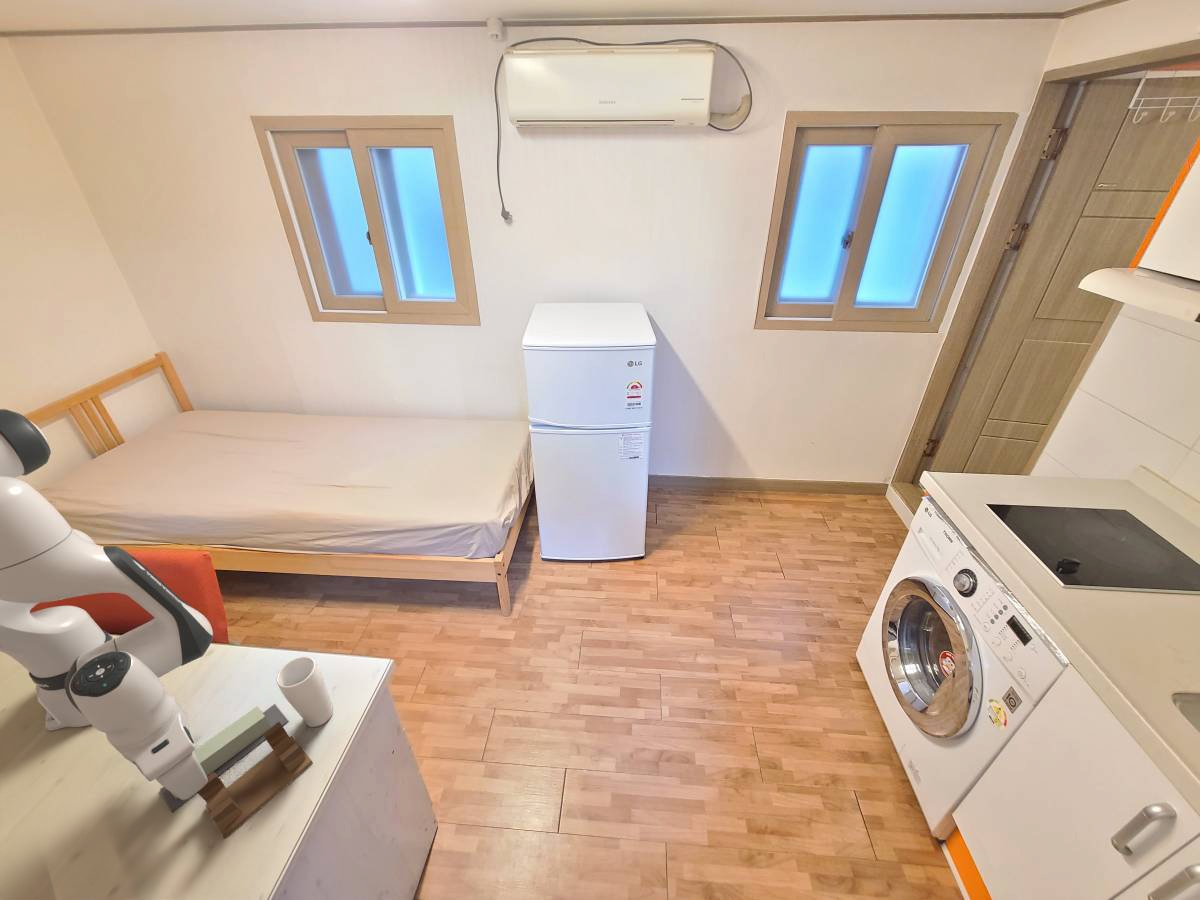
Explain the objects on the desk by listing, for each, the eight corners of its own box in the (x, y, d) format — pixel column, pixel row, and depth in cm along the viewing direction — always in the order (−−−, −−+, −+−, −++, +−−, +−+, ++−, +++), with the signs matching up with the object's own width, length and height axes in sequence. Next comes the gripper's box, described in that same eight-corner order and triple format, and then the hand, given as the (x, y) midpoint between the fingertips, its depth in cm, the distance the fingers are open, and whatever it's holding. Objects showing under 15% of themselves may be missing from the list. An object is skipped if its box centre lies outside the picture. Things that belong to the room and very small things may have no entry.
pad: (160, 790, 89) (160, 789, 89) (275, 704, 102) (274, 703, 102) (172, 812, 86) (171, 811, 86) (288, 721, 99) (288, 720, 99)
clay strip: (176, 799, 87) (166, 787, 85) (169, 786, 88) (159, 774, 86) (271, 728, 98) (265, 716, 96) (263, 717, 100) (257, 706, 98)
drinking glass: (332, 693, 104) (310, 649, 97) (342, 716, 100) (319, 672, 92) (298, 714, 101) (272, 670, 93) (306, 739, 96) (280, 695, 88)
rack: (207, 807, 86) (190, 789, 83) (293, 737, 97) (281, 719, 93) (225, 838, 82) (208, 821, 79) (312, 762, 93) (301, 744, 89)
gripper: (110, 708, 85) (149, 749, 92) (148, 784, 74) (189, 824, 82) (154, 681, 89) (188, 722, 96) (196, 749, 79) (231, 790, 86)
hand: (189, 770), depth 89 cm, fingers closed on clay strip, 3 cm apart
